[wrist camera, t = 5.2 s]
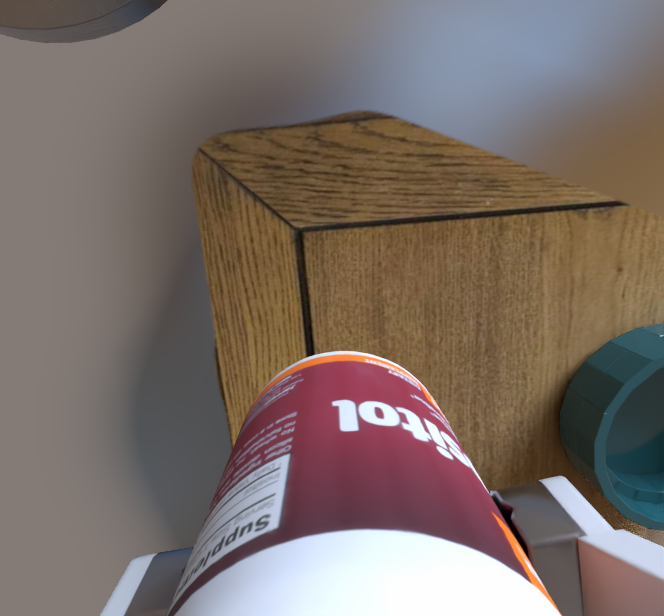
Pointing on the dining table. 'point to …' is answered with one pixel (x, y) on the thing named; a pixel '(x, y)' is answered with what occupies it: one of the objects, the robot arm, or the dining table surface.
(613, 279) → the dining table surface
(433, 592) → the pill bottle
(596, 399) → the bowl
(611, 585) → the robot arm
